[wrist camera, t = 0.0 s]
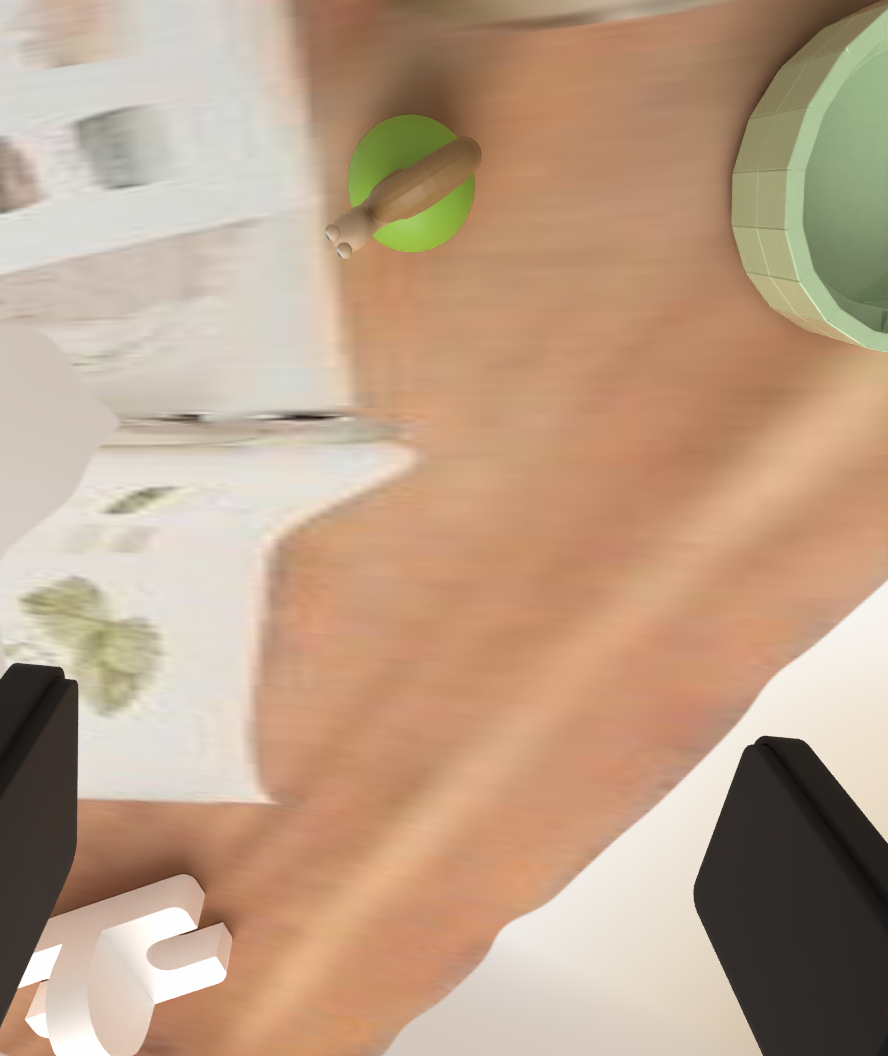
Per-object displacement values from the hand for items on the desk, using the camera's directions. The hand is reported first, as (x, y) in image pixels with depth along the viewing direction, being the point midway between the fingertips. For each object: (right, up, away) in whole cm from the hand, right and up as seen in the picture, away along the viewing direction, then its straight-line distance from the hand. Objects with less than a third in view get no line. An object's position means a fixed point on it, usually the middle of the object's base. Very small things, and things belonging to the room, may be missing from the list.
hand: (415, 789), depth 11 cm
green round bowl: (+21, +20, +28) cm, 40 cm away
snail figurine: (-2, +19, +26) cm, 33 cm away
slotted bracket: (-21, -23, +42) cm, 52 cm away
